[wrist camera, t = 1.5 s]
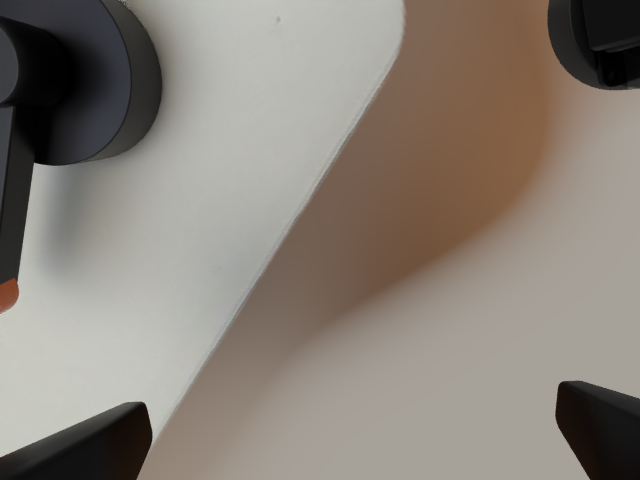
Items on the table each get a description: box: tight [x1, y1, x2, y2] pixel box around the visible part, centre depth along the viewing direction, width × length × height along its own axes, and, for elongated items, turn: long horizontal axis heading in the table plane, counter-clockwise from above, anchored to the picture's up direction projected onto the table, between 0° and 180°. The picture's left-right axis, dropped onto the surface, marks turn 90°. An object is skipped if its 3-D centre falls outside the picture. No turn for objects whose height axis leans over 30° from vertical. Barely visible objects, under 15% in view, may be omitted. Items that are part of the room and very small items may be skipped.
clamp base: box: [0, 0, 161, 166], centre depth 18 cm, size 8×8×3 cm
